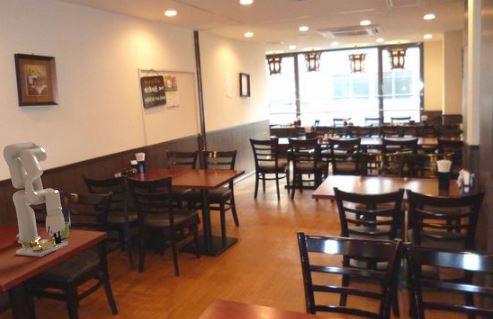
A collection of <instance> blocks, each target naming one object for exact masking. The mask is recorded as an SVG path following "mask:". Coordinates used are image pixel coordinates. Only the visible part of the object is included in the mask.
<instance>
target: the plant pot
mask: <svg viewBox="0 0 493 319" xmlns="http://www.w3.org/2000/svg"><path fill="white" fill-rule="evenodd" d="M70 224H71V223H70V221H65V230H64V231H63V232H62V236H61V240H63V239H68V237H69V236H70V235H69V234H70V232H69V229H70V228H69V227H70Z"/></svg>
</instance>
